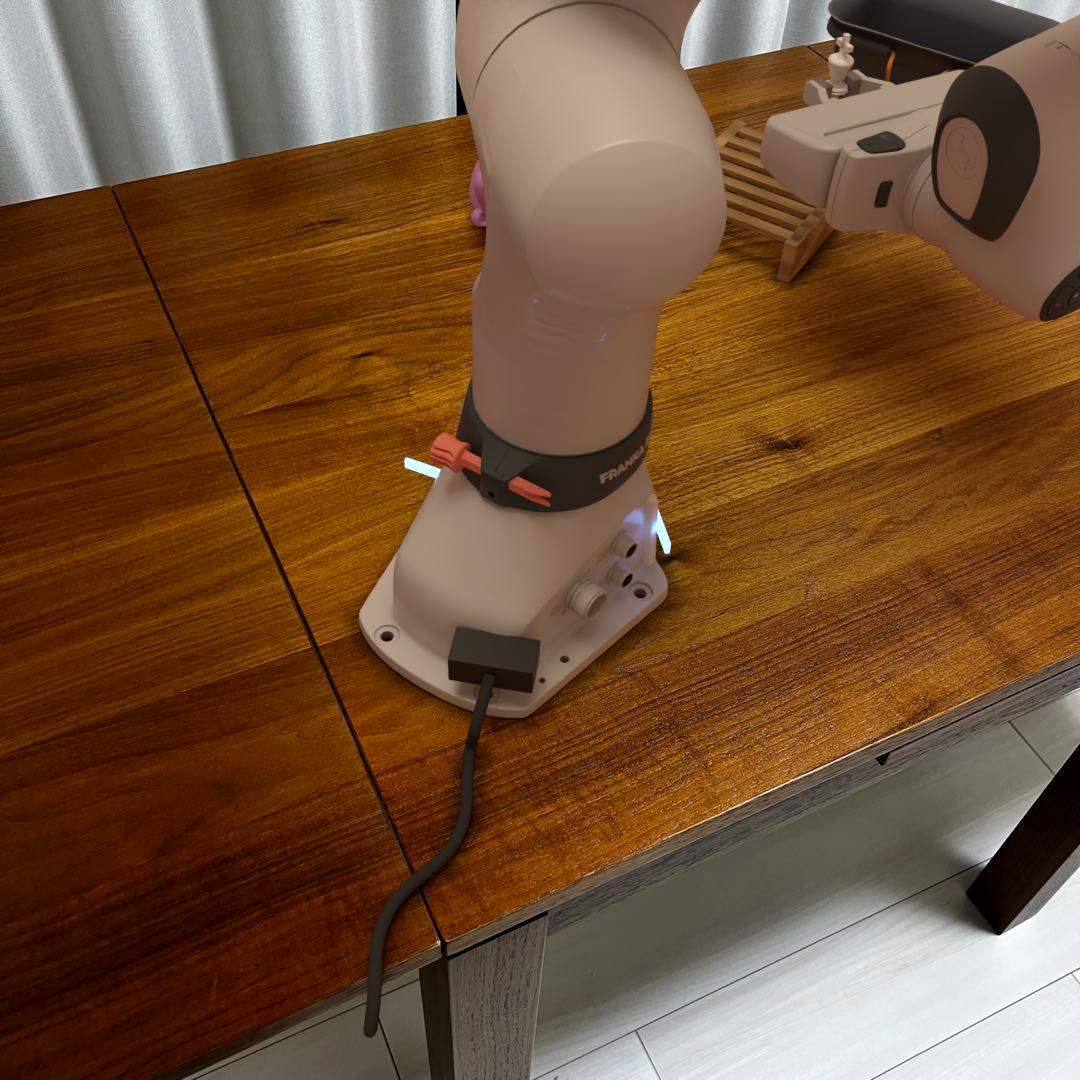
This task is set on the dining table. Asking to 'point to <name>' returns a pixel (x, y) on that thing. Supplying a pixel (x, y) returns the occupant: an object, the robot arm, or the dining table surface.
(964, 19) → the storage bin
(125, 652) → the dining table surface
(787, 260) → the rack
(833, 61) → the chess piece
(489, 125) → the robot arm
